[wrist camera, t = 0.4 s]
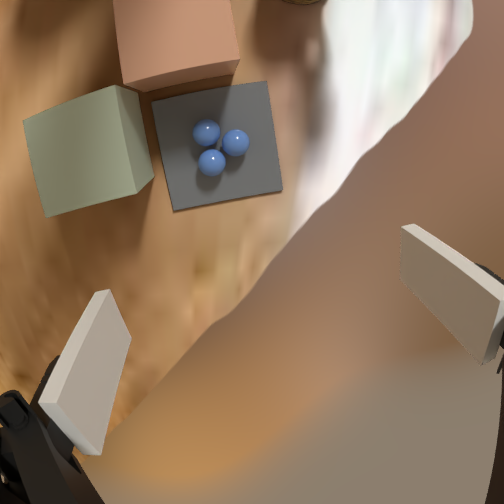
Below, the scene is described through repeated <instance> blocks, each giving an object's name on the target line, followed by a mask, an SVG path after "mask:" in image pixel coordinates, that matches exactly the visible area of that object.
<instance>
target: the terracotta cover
mask: <svg viewBox="0 0 504 504" xmlns="http://www.w3.org/2000/svg"><path fill="white" fill-rule="evenodd" d="M113 8H114V18H115V27H116V35H117V43H118V51H119V58H120V65H121V71H122V78H123V84H124V85H127V86H129V87H132V88H135V89H137V90H140V91H143V92H148V91H152V90H156V89H160V88H164V87H168V86H173V85H177V84H182V83H187V82H191V81H196V80H201V79H207V78H212V77H218V76H224V75H230V74H234V73H235V70H236V68H237V65H238V63H239V60H240V56H239V50H238V45H237V39H236V33H235V28H234V22H233V17H232V11H231V6H230V0H113Z"/></svg>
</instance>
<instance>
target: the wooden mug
mask: <svg viewBox="0 0 504 504" xmlns="http://www.w3.org/2000/svg"><path fill="white" fill-rule="evenodd" d="M284 1H286V2H290V3H294V4H311V3H315V2H318V1H320V0H284Z"/></svg>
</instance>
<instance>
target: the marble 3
mask: <svg viewBox="0 0 504 504" xmlns="http://www.w3.org/2000/svg"><path fill="white" fill-rule="evenodd" d="M249 145H250V140H249V137H248V135H247V134H246V133H245V132H244V131H242V130H239V129H233V130H230V131H228V132H227V133H226V134H225V135H224V136H223V139H222V147H223V149H224V151H225V152H226V153H227V154H228V155H231V156H241V155H243V154H244V153H246V152H247V150H248V148H249Z"/></svg>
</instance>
